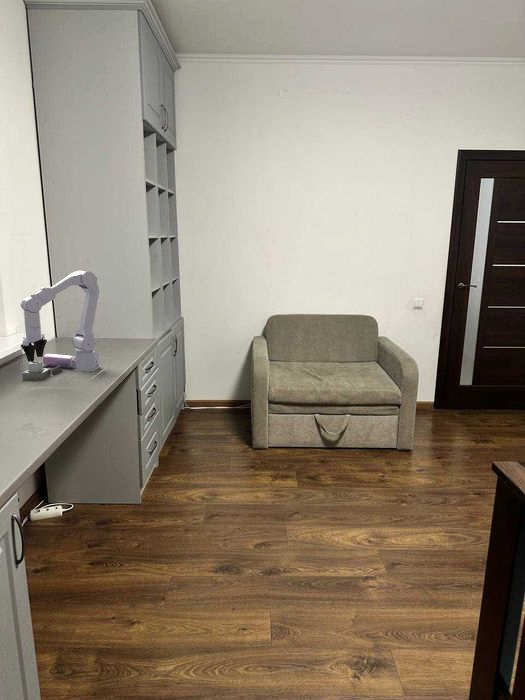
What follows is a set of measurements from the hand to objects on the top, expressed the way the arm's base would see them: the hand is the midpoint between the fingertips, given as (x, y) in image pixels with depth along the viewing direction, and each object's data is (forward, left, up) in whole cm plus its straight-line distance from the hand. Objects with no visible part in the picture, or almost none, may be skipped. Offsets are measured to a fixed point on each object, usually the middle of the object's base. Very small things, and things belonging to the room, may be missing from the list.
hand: (35, 359), depth 199 cm
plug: (0, 0, -8) cm, 8 cm away
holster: (-2, -8, -9) cm, 12 cm away
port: (0, 0, -9) cm, 9 cm away
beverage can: (+5, -20, -6) cm, 21 cm away
